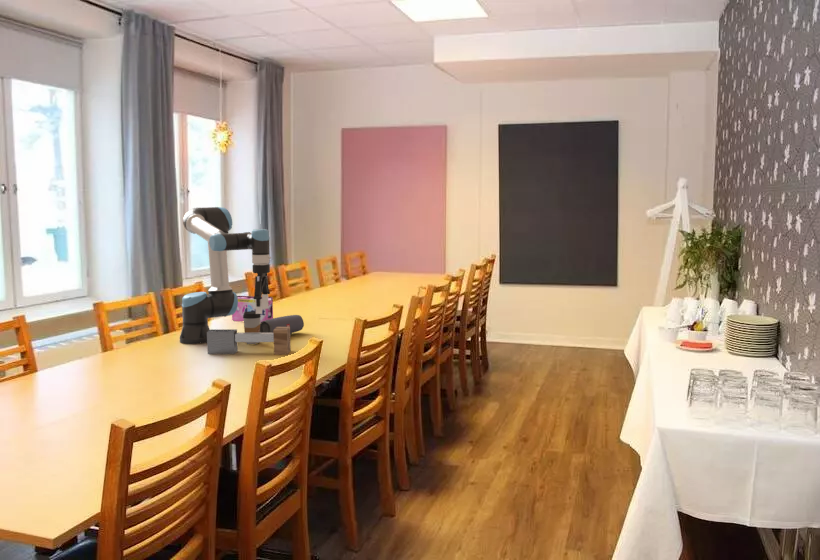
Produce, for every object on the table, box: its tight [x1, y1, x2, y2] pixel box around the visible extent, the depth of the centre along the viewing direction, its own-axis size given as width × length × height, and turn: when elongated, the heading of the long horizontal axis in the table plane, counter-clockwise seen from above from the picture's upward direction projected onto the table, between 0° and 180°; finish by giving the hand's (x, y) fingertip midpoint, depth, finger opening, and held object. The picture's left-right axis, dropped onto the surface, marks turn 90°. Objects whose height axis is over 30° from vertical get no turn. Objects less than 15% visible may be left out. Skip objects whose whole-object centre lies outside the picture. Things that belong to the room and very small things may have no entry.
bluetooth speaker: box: [260, 314, 305, 336], centre depth 362 cm, size 23×9×10 cm, turn 143°
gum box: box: [231, 295, 274, 323], centre depth 407 cm, size 24×8×14 cm, turn 69°
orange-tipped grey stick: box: [234, 332, 274, 343], centre depth 325 cm, size 4×25×4 cm, turn 90°
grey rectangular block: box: [206, 328, 239, 355], centre depth 326 cm, size 6×12×10 cm, turn 89°
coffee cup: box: [243, 311, 261, 345], centre depth 345 cm, size 8×8×15 cm
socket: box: [273, 327, 292, 355], centre depth 325 cm, size 8×6×11 cm
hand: (262, 311), depth 324 cm, fingers open, 13 cm apart
